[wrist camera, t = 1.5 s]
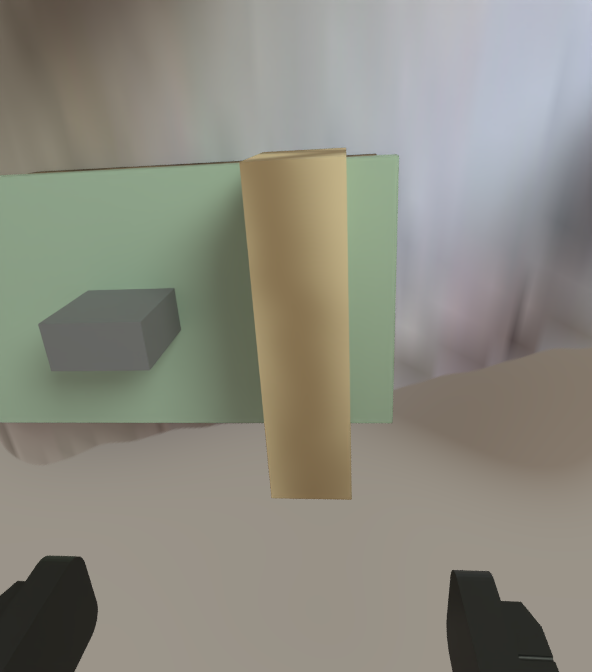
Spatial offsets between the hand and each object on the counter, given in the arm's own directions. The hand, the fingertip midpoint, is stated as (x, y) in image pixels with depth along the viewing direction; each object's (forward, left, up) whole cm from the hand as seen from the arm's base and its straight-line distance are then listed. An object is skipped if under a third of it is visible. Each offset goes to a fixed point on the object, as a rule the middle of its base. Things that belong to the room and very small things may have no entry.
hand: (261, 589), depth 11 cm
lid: (+8, 0, -19) cm, 21 cm away
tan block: (0, 0, -18) cm, 18 cm away
